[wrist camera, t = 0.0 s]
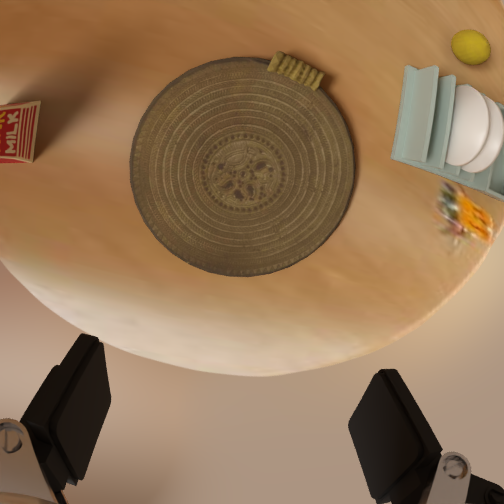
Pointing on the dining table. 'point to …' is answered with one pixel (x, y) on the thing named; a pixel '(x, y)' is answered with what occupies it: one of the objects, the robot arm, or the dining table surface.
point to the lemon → (470, 47)
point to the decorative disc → (243, 165)
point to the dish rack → (450, 131)
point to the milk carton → (18, 131)
